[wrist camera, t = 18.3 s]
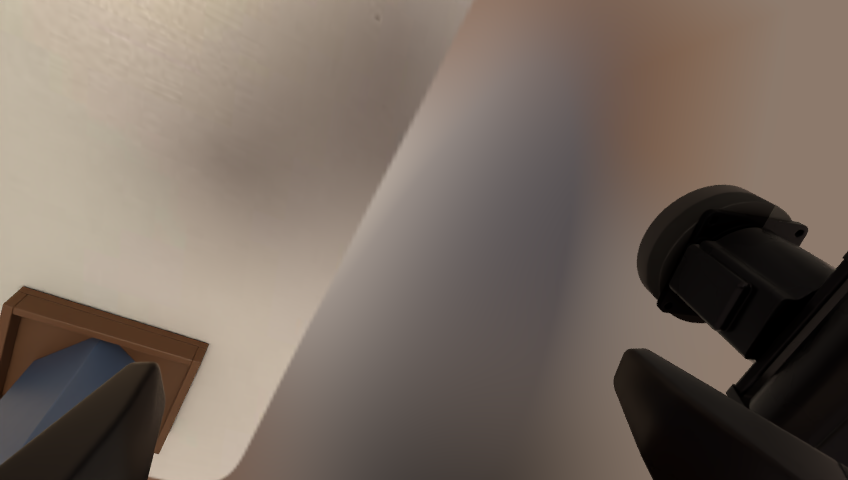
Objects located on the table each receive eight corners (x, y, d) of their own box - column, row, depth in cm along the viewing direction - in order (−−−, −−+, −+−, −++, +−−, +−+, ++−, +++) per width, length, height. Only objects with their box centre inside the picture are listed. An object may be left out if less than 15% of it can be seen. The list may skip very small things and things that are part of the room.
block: (106, 331, 22) (-54, 550, 14) (158, 386, 24) (47, 609, 16) (33, 360, 23) (-170, 593, 14) (90, 412, 25) (-56, 646, 16)
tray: (208, 343, 24) (200, 362, 23) (167, 432, 27) (158, 454, 25) (23, 285, 21) (2, 304, 20) (-4, 391, 24) (-23, 413, 23)
